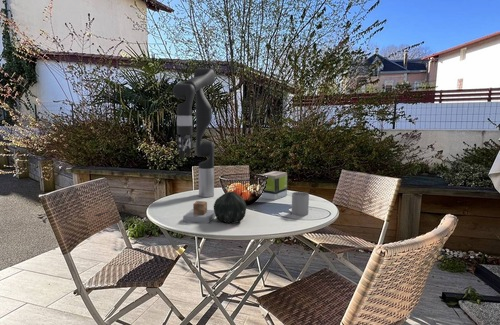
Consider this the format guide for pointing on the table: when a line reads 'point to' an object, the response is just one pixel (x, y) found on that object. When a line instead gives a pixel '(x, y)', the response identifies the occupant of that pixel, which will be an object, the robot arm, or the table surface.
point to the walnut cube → (200, 207)
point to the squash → (230, 207)
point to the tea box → (275, 185)
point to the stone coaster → (199, 217)
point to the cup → (300, 203)
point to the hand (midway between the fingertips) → (185, 157)
